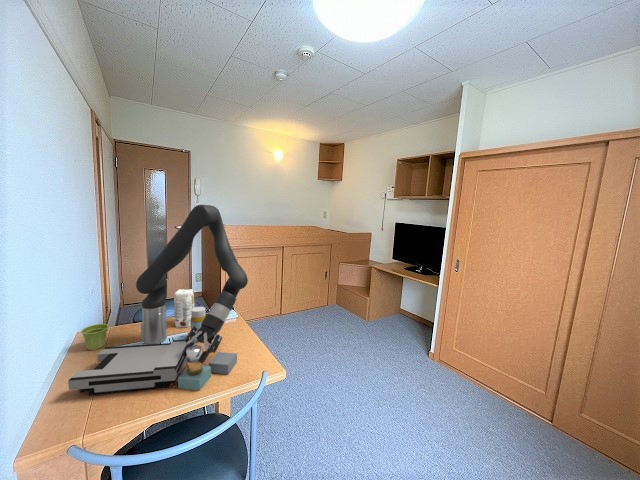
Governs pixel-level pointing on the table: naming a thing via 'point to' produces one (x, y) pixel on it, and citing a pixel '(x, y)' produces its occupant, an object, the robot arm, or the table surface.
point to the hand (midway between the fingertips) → (191, 359)
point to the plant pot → (95, 336)
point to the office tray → (132, 369)
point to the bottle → (197, 317)
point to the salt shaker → (194, 360)
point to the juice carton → (183, 307)
